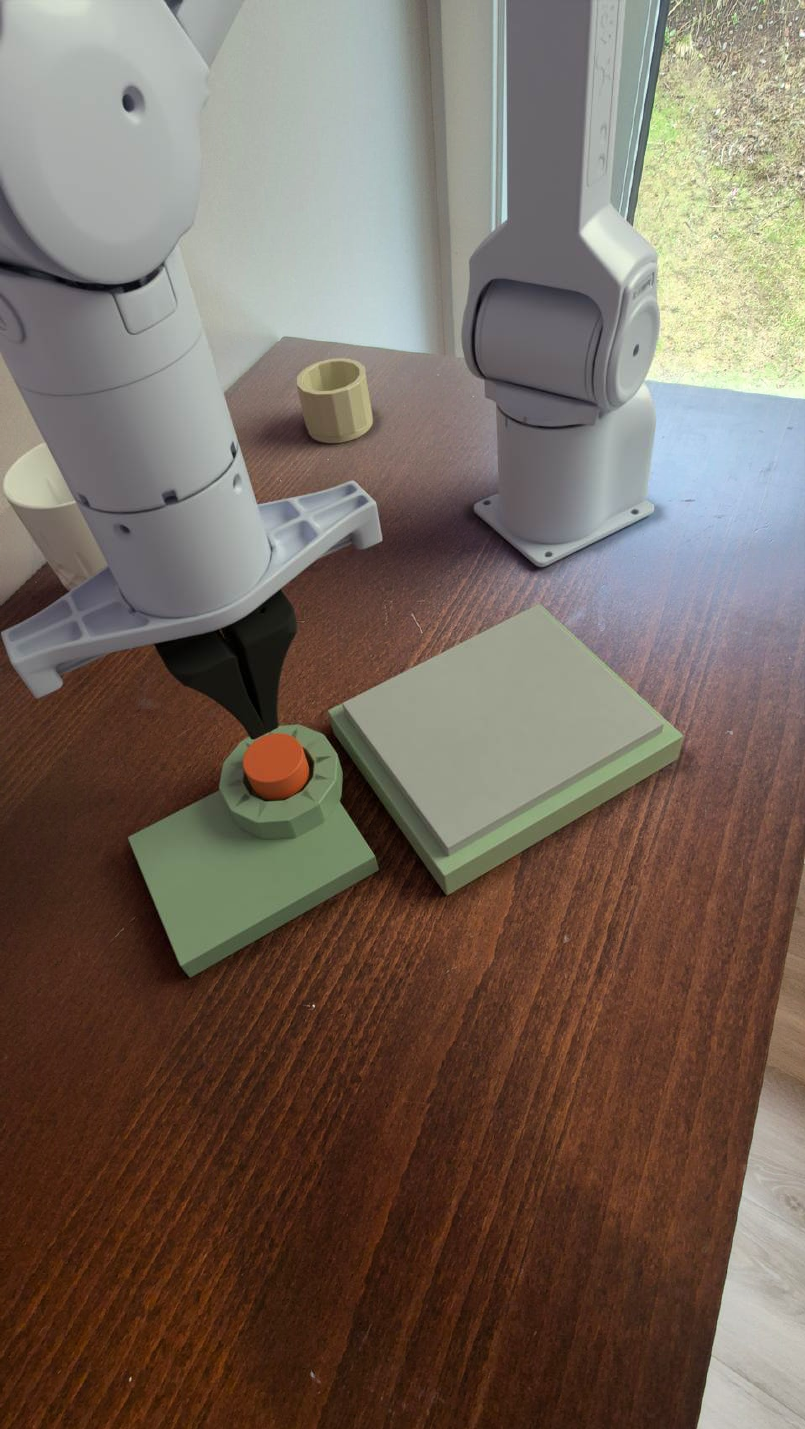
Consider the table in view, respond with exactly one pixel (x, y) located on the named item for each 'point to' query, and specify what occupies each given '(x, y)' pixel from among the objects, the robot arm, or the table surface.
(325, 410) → the beige cup
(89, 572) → the white cup
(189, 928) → the block
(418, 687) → the scale
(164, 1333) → the table surface
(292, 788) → the button
